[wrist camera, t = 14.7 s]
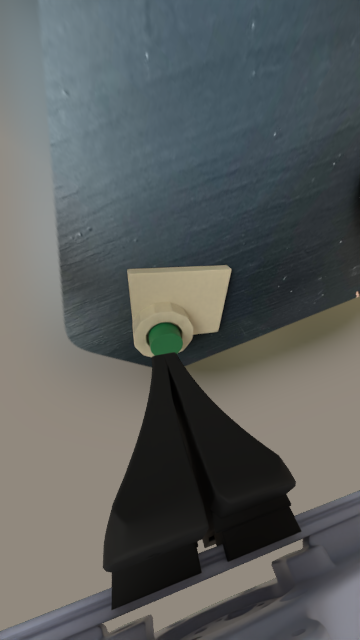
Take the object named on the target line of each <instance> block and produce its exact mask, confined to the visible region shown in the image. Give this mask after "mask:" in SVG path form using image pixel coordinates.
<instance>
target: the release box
mask: <svg viewBox="0 0 360 640" xmlns="http://www.w3.org/2000/svg"><path fill="white" fill-rule="evenodd" d="M127 274H128V283H129V293H130V302H131V311H132V320H133V324H132V325H133V336H134V345H135V347H136V348H137V349H138V350H139V351H140V352H141V353H142V354H143V355H145V356H148V357H153V356H155V355H154V354H153V353H152V352H151V349H150V343H149V337H148V335H149V332H150V330H151V329H152V328H153V327H154V326H156V325H157V324H160V323H172V324H174V325H175V326H177V328H178V330H179V332H180V335H181V338H182V340H183V346H182V349H181V350H180V351H179V352H181V351H183V350H184V349H185V348H186V347H187V345H188V344H189V343H190V342H191V340H192V337H193V335H195V334H203V333H211V332H218V330H219V325H220V321H221V316H222V312H223V307H224V302H225V298H226V293H227V288H228V284H229V279H230V275H231V268H229V267H228V266H227V265H218V266H193V267H168V268H143V269H127ZM179 352H178V353H179Z"/></svg>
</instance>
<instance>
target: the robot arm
mask: <svg viewBox="0 0 360 640" xmlns="http://www.w3.org/2000/svg"><path fill="white" fill-rule="evenodd" d="M295 484H296V481H295V479H294V478H293V476H292V474H291V472H290V471H289V469H288V468H287V466H286V465H285V464H284V462H283V461H282V459H281V458H280V457H279V455H277V454H276V453H274V452H273V451H272V450H270V449H269V448H267V447H266V446H265V445H263V444H262V443H261V442H259V441H257V440H256V439H255V438H254V437H253V436H251V435H250V434H249V433H247V432H246V431H245V430H244V429H243V428H241V427H240V426H239V425H238V424H237V423H235V422H234V421H233V420H232V419H231V418H230V417H229V416H228V415H226V414H225V413H224V412H223V411H222V410H221V409H220V408H219V407H218V406H217V405H216V404H215V403H214V402H213V401H212V400H211V399H210V398H209V397H208V396H207V394H206V393H205V392H204V391H203V390H202V389H201V388H200V387H199V385H198V384H197V383H196V382H195V380H194V379H193V378H192V377H191V375H190V374H189V372H188V371H187V370H186V368H185V367H184V365H183V364H182V362H181V361H180V359H179V357H178V356H177V354H176V353H175V352H172V353H166V354H161V355H155V356H153V357H152V379H151V386H150V393H149V398H148V403H147V407H146V412H145V416H144V419H143V423H142V427H141V430H140V433H139V436H138V440H137V443H136V446H135V449H134V452H133V454H132V457H131V460H130V463H129V465H128V468H127V471H126V474H125V476H124V479H123V481H122V483H121V486H120V488H119V491H118V493H117V495H116V498H115V500H114V503H113V506H112V510H111V513H110V517H109V521H108V525H107V529H106V534H105V541H104V555H103V568H104V569H105V571H107V572H112V588H110V589H107V590H104V591H102V592H99V593H97V594H94V595H92V596H89V597H87V598H84V599H81V600H79V601H76V602H74V603H71V604H69V605H66V606H64V607H61V608H59V609H56V610H53V611H51V612H48V613H46V614H43V615H41V616H38V617H36V618H33V619H30V620H28V621H25V622H23V623H20V624H18V625H15V626H13V627H10V628H8V629H5V630H2V631H0V640H360V490H359V491H357V492H354V493H352V494H349V495H347V496H344V497H342V498H339V499H336V500H334V501H331V502H329V503H326V504H324V505H321V506H319V507H316V508H314V509H311V510H308V511H306V512H303V513H301V514H298V515H296V516H294V515H293V513H292V511H291V509H290V507H289V506H291V503H290V501H289V499H288V497H287V495H286V494H287V493H288V492H289V491H290V490H291V489H293V488H294V487H295ZM303 538H304V539H303ZM201 539H203V543H204V547H205V548H206V547H209V546H211V545H214V544H216V545H217V547H214V548H211V549H209V550H206V551H204V552H201V553H199V554H198V551H197V547H198V543H197V542H198V541H199V540H201ZM301 539H303V548H302V549H301V550H298V551H295V552H292V553H290V554H287V555H285V556H283V557H281V558H279V559H277V560H275V561H273V562H272V567H273V569H274V573H275V575H276V578H275V579H272V580H270V581H268V582H265V583H263V584H260V585H258V586H255V587H253V588H251V589H248V590H246V591H244V592H241V593H238V594H236V595H234V596H231V597H229V598H227V599H224V600H222V601H220V602H217V603H215V604H213V605H211V606H209V607H206V608H204V609H202V610H200V611H198V612H196V613H194V614H192V615H190V616H188V617H186V618H183V619H181V620H179V621H177V622H175V623H173V624H171V625H169V626H167V627H165V628H163V629H161V630H159V631H157V632H155V633H154V629H153V617H152V616H151V615H148V616H145V617H143V618H140V619H137V620H135V621H133V622H130V623H128V624H125V625H124V626H121V627H119V628H117V629H115V630H113V631H111V632H110V633H109V632H108V631H107V629H106V626H105V625H104V624H102V623H104V622H106V621H109V620H111V619H114V618H116V617H118V616H121V615H123V614H125V613H128V612H130V611H133V610H135V609H137V608H140V607H142V606H145V605H147V604H149V603H151V602H153V601H156V600H159V599H161V598H163V597H166V596H168V595H171V594H173V593H175V592H178V591H180V590H182V589H185V588H187V587H189V586H192V585H194V584H197V583H199V582H201V581H203V580H206V579H208V578H211V577H213V576H215V575H218V574H220V573H222V572H225V571H227V570H229V569H232V568H234V567H237V566H239V565H241V564H244V563H246V562H249V561H251V560H253V559H256V558H258V557H260V556H263V555H265V554H267V553H270V552H272V551H274V550H277V549H279V548H282V547H284V546H286V545H289V544H291V543H293V542H296V541H298V540H301Z"/></svg>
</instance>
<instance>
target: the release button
mask: <svg viewBox="0 0 360 640" xmlns="http://www.w3.org/2000/svg"><path fill="white" fill-rule="evenodd" d="M148 337H149V343H150V349H151V352H152V353H153V354H154V355H161V354H166V353H172V352H175V353H176V354H177V353H178V352H179V351H180V350H181V349H182V346H183V340H182V338H181V335H180V332H179V330H178V328H177V326H175V325H174V324H172V323H160V324H157V325H156V326H154V327H153V328H152V329H151V330H150V332H149V335H148Z"/></svg>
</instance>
